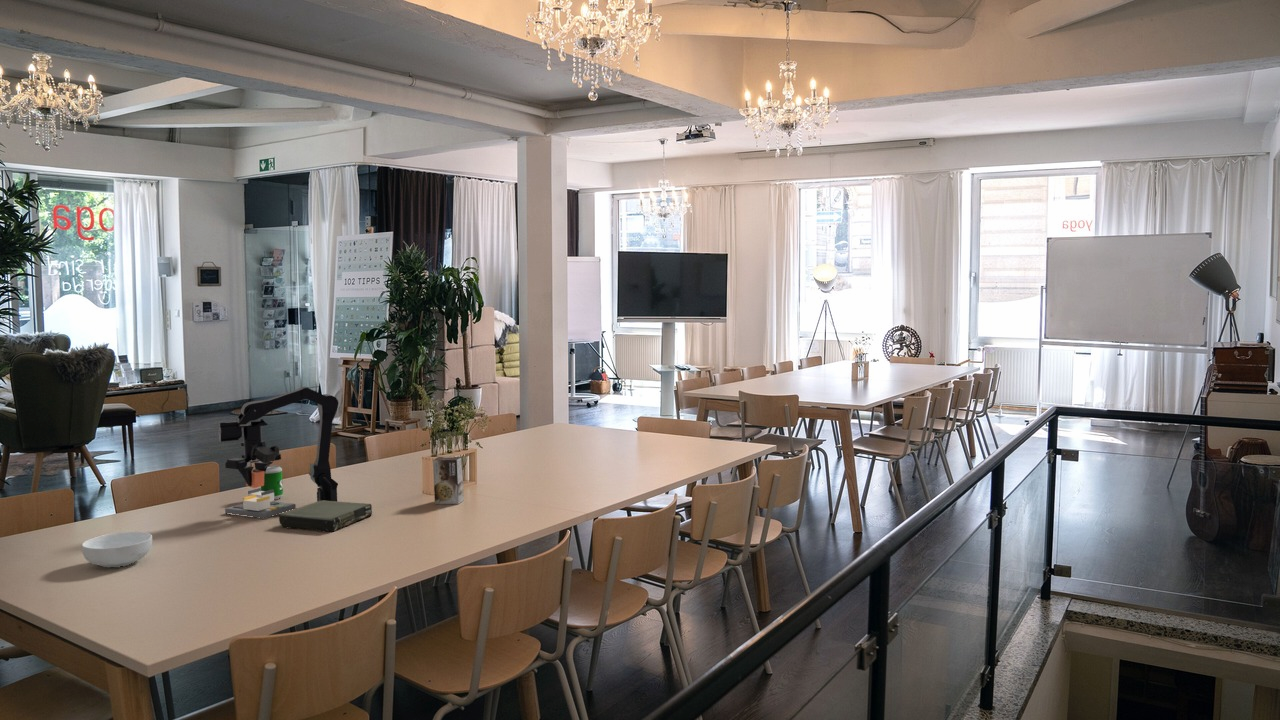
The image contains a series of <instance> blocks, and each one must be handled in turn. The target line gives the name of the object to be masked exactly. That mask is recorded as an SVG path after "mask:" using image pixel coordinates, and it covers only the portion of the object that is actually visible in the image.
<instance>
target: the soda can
mask: <svg viewBox="0 0 1280 720" xmlns="http://www.w3.org/2000/svg"><path fill="white" fill-rule="evenodd" d="M283 479H284V478H283V468H282V467H280V465H272V464H271V465H269V466H268V467H267V469H266V472H265V475H264V486H260V488H261V491H269V490H274V499H279V498H281V499H282V497H283V496H284V484H283V483H284V481H283ZM279 500H280V499H279Z"/></svg>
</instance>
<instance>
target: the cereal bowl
mask: <svg viewBox="0 0 1280 720" xmlns="http://www.w3.org/2000/svg"><path fill="white" fill-rule="evenodd" d="M152 546H153V535H152V534H151V533H149V532H145V531H121V532H112V533H108V534H103V535H99V536H96V537H92V538H89V539H87V540H85V541H83V542H82V545H81V549H82V550H81V553H82V555H83V557H84V559H85V560H86V561H87V562H88V563H90V564H93V565H96V566H102V567H103V568H105V567H118V568H121V567H120V566H123V567H127V566H130V565H132V564H131V563H133V564H134V563H135V562H136V561H138V560H141V559H142V558H144V557H145V556H147V555H148V554H149V553H150V551H151V549H152ZM129 564H130V565H129ZM126 565H127V566H126Z"/></svg>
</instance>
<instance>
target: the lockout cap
mask: <svg viewBox="0 0 1280 720" xmlns="http://www.w3.org/2000/svg"><path fill="white" fill-rule="evenodd" d="M251 473H252V485H251V486H248V484H247V483H246V482H245V486H246V487H250V488H252V489H258V488H261V486H264V473H265V471H261V470H258V469H254V468H253V469H252V471H251Z"/></svg>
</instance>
